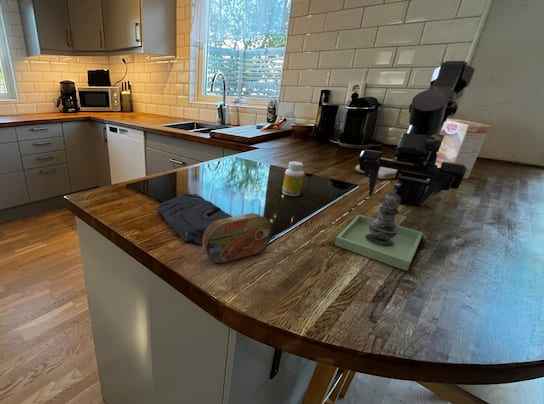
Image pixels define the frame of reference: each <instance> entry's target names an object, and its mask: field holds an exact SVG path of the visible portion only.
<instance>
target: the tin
mask: <svg viewBox="0 0 544 404" xmlns="http://www.w3.org/2000/svg"><path fill="white" fill-rule="evenodd" d="M272 235H273V225H272V223H271V221H270V220H269V219H268V218H267V217H265V216H262V215H261V214H259V213H255V212H251V213H246V214H240V215H235V216H232V217H230V218H225V219H220V220H217V221H215V222H213V223H212V224H210V225H209V226H208V227H207V229H206V230H205V232H204V234H203V239H202V244H201V245H202V250H203V252H204V253H205V254H206V255H207V256H208V258H209V259H210V260H211V261H213V262H214V263H220V264H224V263H228V262H231V261H235V260H239V259H243V258H246V257H250V256H253V255H257V254H259V253H261V252H262V251H264V249H265V248H266V247H267V246H268V245H269V243H270V241H271V239H272Z"/></svg>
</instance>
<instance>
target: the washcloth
mask: <svg viewBox="0 0 544 404" xmlns="http://www.w3.org/2000/svg"><path fill="white" fill-rule="evenodd" d="M354 169H355V171H356V172H358V173H361V174H365V173H364V171H362V170H360V166H359V164H357V165H356V166H355V168H354ZM396 173H397V170H396V169H390V168H385V167H380V169H379V171H378V178H377V179H380V180H389V179H395V177H396Z"/></svg>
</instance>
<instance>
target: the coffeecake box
mask: <svg viewBox="0 0 544 404" xmlns="http://www.w3.org/2000/svg"><path fill="white" fill-rule="evenodd" d="M490 127H491V124H485V123H484V124H483V123H480V122H474V121H468V120H464V119H459V118H458V119H455V118H447V120H446V122H444V125H443V127H442V130H441V132H440V135H444V138H443V141H442V144H441V146H440V149H439V151H438V152H436V153H437V160H436V164H435V165H438V168H440V167H441V165H442V162H443V161H444V162H451V163H457V164H464V165H465V166H466V168H467V169H466V172H465V175H464V177H463V179H466V180H468V179H469V178H470V175H471V173H472V170H473V168H474V165H475V164H476V161H477V158H478V156H479V154H480V151H481V150H482V149H481V148H482V146H483V144H484V141H485V139H486V136H487V134H488V132H489V130H490ZM463 179H462V180H463Z"/></svg>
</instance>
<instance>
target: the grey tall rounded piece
mask: <svg viewBox="0 0 544 404" xmlns="http://www.w3.org/2000/svg"><path fill="white" fill-rule="evenodd" d="M393 190H394V189H393ZM393 190H392V192H388V193H386V194H385V195H384V197H383V199H382V200H383V201H382V204H381V206H379V207H378V210H379V213H378V215H377V218H375V219H376V220H371V221H369V222H368V224H369V231H370V232H371V234H368V235H366V239H367V240H368V241H369V242H371V243H373V244H376V245H379V246H385V247H389V246H392V245H393V241H392V240H391V239H390V238H393V237H394V236H395V235H396V234H397V233H398V232H399V231H400V228H399V227H398V226H399V225H398V226H396V225H397V224H395V221H396V217H397V215H399V214H400V211H399V207H400V204H401V203H400V201H401V197H400V196H399V195H398V194H396V192H397V191H396V190H394V191H393Z"/></svg>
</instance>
